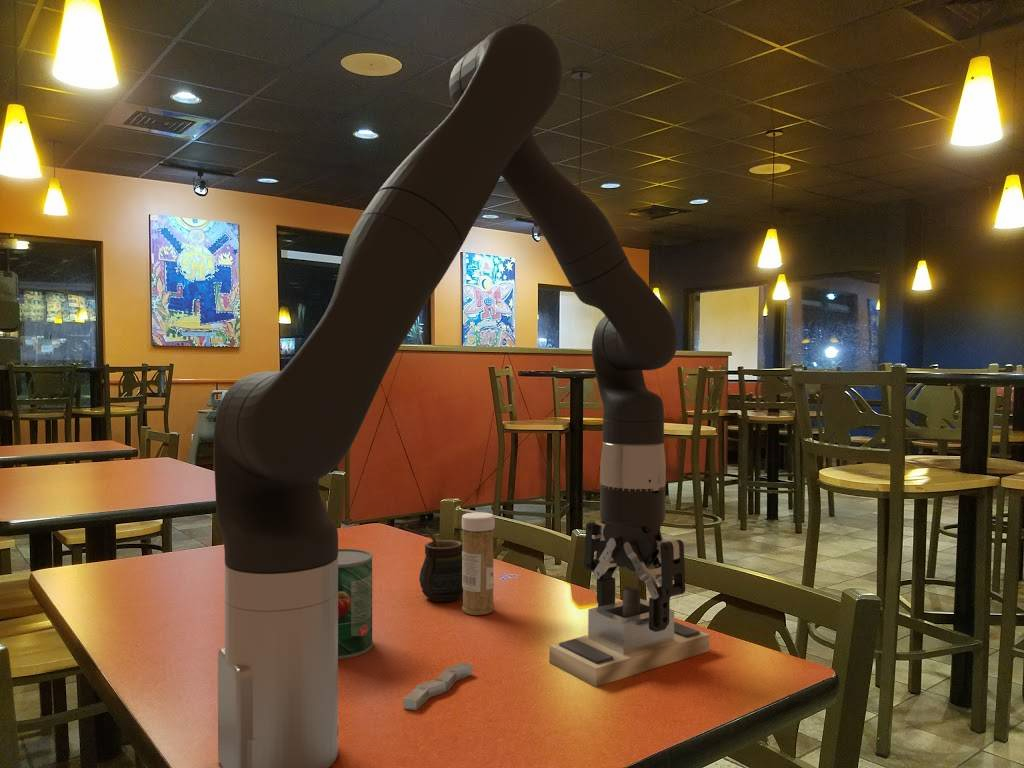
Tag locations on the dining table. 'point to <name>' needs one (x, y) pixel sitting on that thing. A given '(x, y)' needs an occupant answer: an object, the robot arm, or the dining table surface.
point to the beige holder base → (611, 666)
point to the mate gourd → (442, 570)
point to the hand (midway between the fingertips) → (631, 619)
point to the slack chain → (436, 685)
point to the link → (626, 628)
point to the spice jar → (477, 563)
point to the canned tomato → (354, 602)
